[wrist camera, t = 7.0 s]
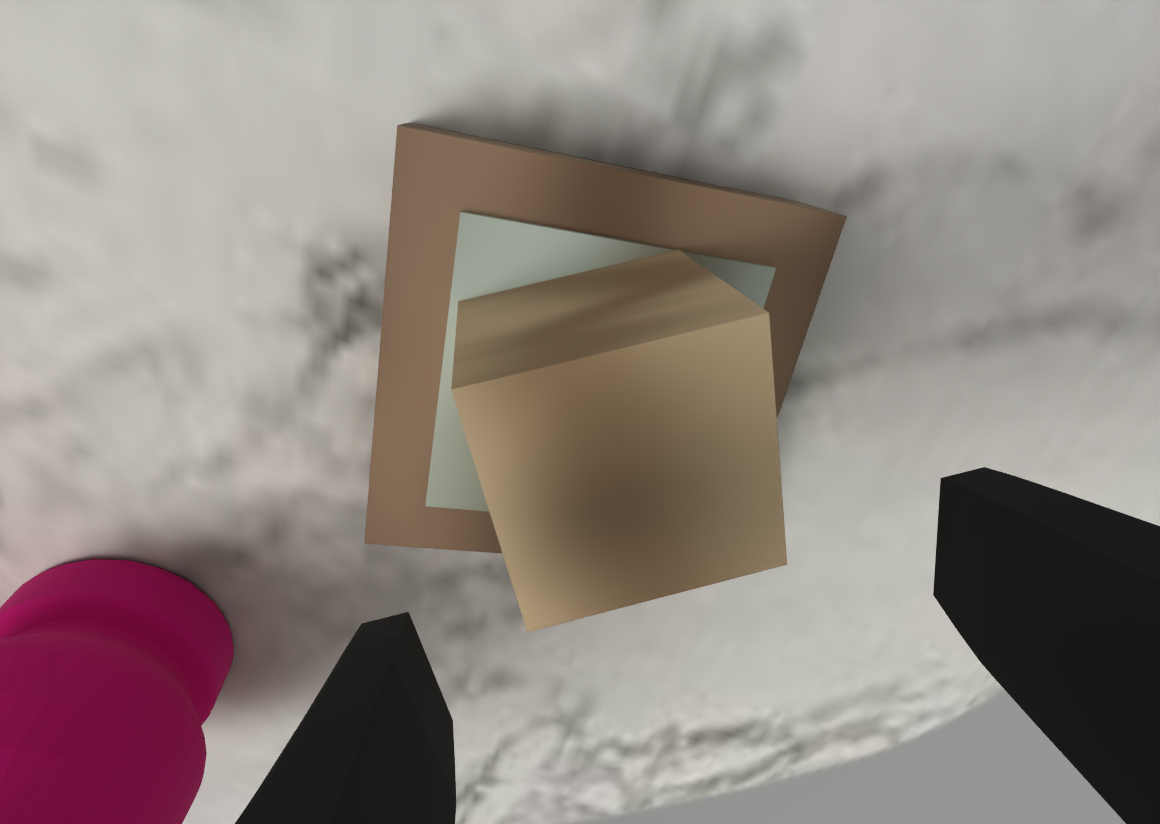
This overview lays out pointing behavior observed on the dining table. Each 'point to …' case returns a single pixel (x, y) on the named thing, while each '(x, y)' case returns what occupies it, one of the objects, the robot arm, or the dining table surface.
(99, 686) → the pepper mill
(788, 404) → the dining table surface
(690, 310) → the oak cube
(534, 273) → the walnut picture frame
